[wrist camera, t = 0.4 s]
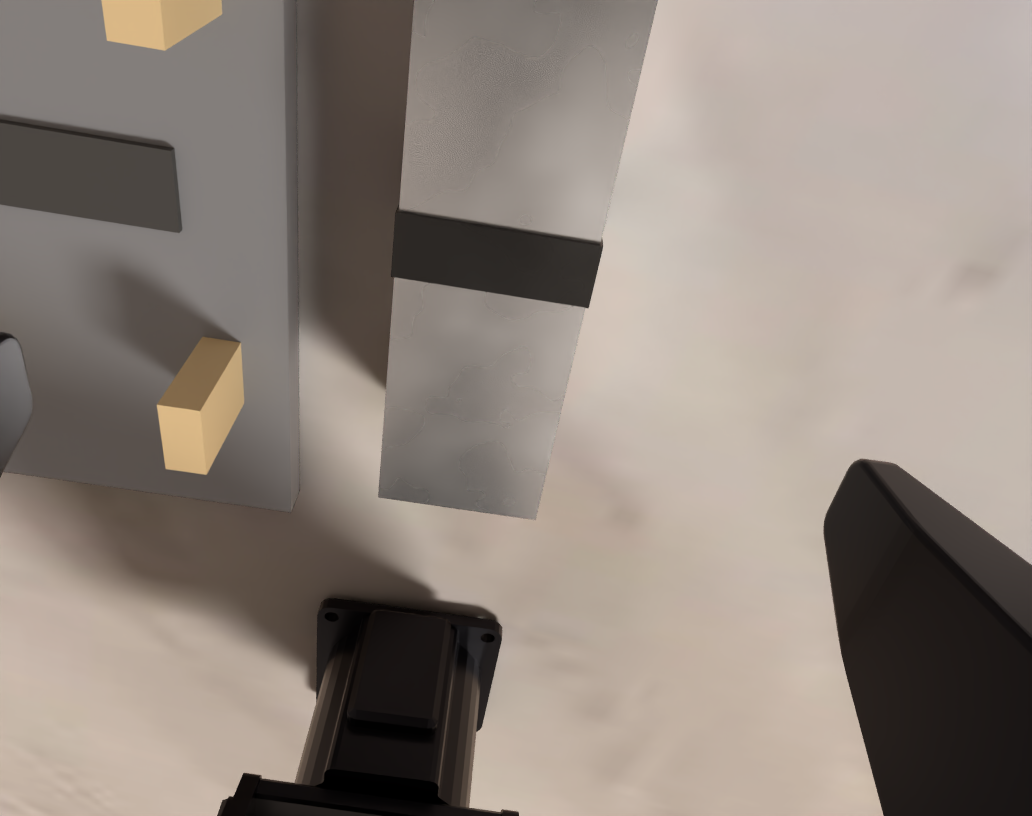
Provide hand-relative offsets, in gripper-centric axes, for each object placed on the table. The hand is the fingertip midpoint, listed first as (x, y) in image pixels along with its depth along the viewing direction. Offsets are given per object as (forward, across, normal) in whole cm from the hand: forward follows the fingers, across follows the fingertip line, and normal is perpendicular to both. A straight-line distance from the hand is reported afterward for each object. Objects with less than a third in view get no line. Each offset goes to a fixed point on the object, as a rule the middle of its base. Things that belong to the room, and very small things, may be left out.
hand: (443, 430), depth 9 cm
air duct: (+12, 0, +2) cm, 12 cm away
